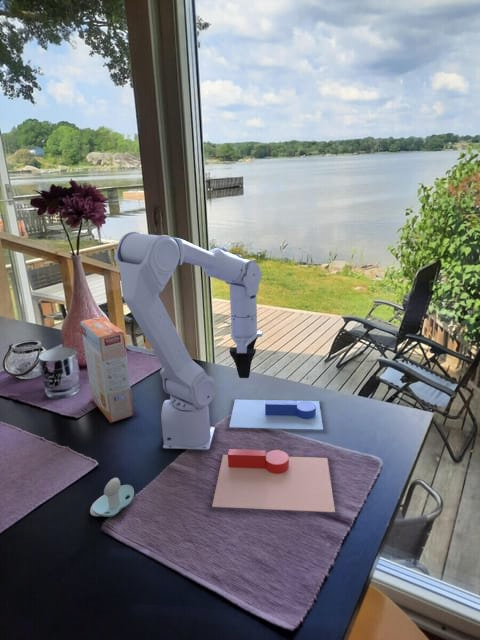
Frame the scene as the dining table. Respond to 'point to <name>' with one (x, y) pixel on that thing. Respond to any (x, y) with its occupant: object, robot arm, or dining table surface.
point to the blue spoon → (290, 408)
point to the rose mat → (276, 487)
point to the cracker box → (107, 368)
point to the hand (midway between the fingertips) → (245, 369)
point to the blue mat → (270, 417)
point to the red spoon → (259, 460)
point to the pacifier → (112, 499)
